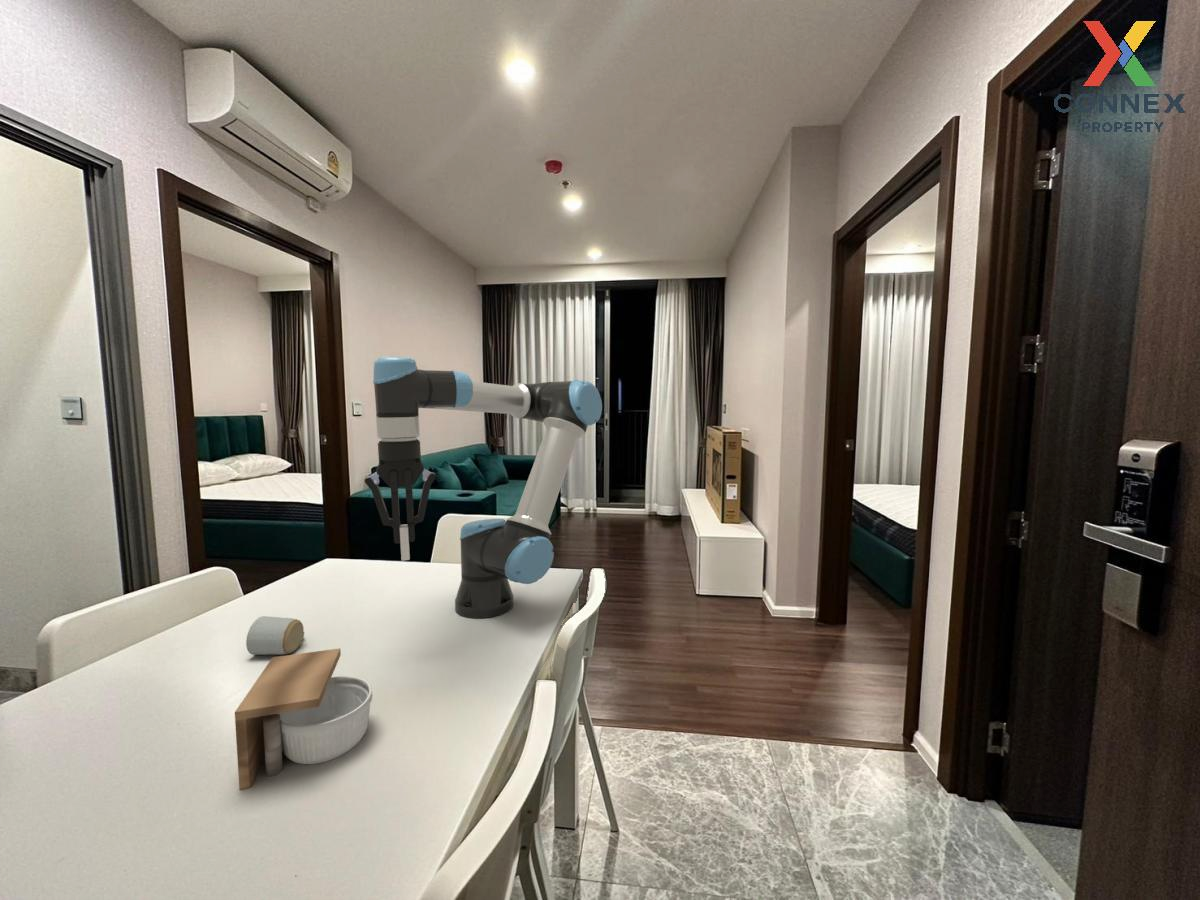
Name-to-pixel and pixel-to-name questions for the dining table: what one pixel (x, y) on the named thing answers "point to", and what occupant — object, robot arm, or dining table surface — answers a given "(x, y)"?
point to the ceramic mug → (274, 636)
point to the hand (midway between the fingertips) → (405, 558)
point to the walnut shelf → (278, 708)
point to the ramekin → (328, 722)
